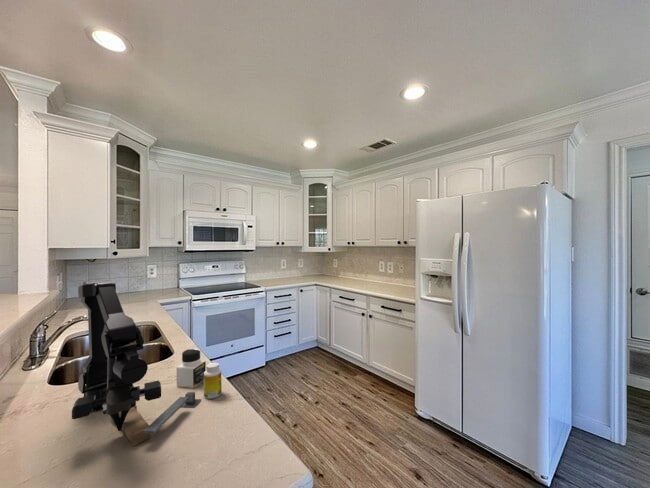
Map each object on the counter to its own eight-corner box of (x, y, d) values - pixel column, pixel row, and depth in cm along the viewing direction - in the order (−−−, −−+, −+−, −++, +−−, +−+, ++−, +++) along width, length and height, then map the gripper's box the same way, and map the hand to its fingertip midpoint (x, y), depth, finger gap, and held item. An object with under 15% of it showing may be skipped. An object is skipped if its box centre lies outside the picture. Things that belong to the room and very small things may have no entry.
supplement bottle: (221, 397, 93) (221, 366, 93) (203, 400, 91) (203, 369, 91) (221, 389, 98) (221, 360, 98) (204, 392, 96) (204, 362, 96)
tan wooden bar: (110, 416, 83) (110, 407, 83) (131, 408, 87) (131, 400, 87) (130, 447, 70) (129, 436, 70) (153, 436, 74) (153, 426, 74)
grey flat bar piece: (139, 446, 71) (139, 430, 71) (186, 400, 92) (186, 388, 92) (158, 446, 70) (158, 431, 70) (201, 400, 91) (200, 388, 91)
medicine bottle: (193, 388, 99) (193, 354, 99) (176, 386, 101) (175, 353, 101) (206, 378, 106) (205, 347, 106) (189, 377, 108) (189, 346, 108)
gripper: (67, 394, 63) (66, 464, 63) (163, 374, 73) (162, 434, 73) (76, 375, 72) (75, 436, 72) (160, 360, 83) (159, 413, 82)
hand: (119, 430), depth 75 cm, fingers closed
